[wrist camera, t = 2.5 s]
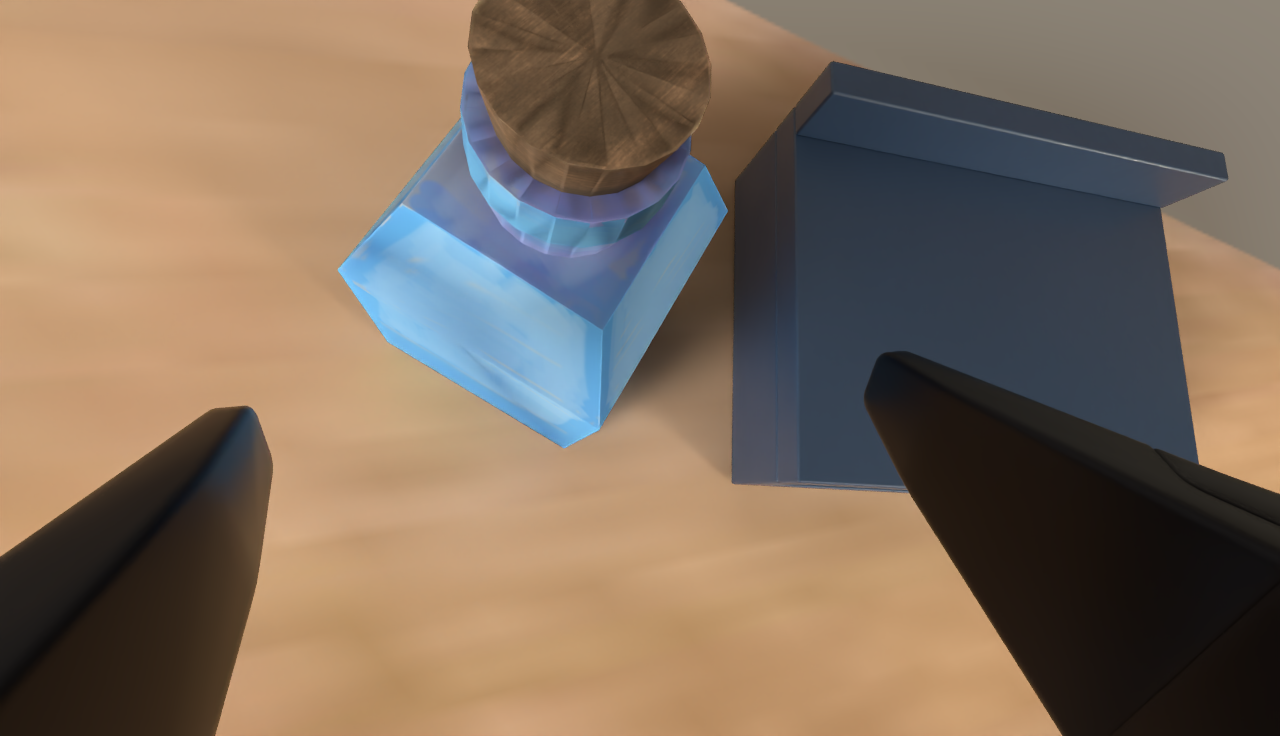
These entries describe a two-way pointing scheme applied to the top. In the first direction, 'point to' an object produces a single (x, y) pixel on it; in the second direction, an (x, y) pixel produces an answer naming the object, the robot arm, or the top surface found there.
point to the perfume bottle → (551, 210)
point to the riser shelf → (949, 270)
